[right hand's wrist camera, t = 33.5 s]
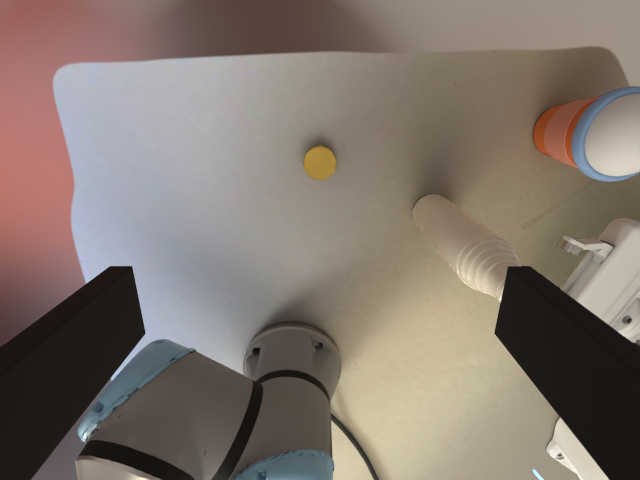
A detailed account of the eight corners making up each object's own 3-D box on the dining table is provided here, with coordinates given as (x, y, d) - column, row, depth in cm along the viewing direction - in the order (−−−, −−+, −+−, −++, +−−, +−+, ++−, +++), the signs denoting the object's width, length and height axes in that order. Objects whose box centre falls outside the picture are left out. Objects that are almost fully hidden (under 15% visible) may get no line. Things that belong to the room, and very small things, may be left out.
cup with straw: (589, 79, 43) (766, 59, 26) (598, 151, 46) (762, 175, 29) (514, 109, 44) (636, 107, 27) (527, 177, 47) (644, 214, 30)
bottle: (456, 221, 49) (562, 306, 28) (420, 238, 50) (496, 333, 29) (443, 187, 47) (544, 250, 26) (406, 205, 48) (474, 280, 27)
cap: (332, 142, 45) (333, 143, 44) (338, 174, 47) (339, 176, 45) (300, 148, 46) (300, 150, 44) (307, 180, 47) (307, 183, 45)
